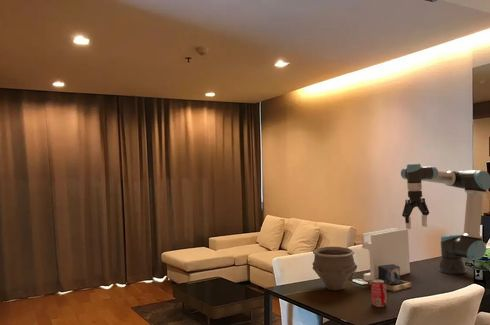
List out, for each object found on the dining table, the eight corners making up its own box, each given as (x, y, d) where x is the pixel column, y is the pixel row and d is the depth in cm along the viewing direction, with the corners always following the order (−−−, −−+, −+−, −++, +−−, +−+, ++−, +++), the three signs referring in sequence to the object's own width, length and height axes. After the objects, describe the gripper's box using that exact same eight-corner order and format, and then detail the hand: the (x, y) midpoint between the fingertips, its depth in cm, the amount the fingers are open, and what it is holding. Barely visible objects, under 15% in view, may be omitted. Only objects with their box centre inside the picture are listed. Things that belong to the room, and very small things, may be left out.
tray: (385, 280, 242) (385, 276, 242) (411, 287, 227) (410, 282, 227) (368, 284, 236) (368, 280, 236) (393, 291, 220) (393, 287, 220)
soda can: (383, 302, 203) (382, 278, 203) (389, 307, 196) (387, 282, 196) (369, 303, 202) (368, 279, 203) (374, 308, 195) (373, 283, 196)
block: (374, 282, 239) (372, 235, 239) (363, 280, 245) (361, 233, 246) (410, 272, 258) (407, 228, 259) (398, 270, 265) (396, 227, 266)
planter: (358, 283, 238) (356, 246, 239) (358, 296, 215) (356, 254, 215) (315, 282, 245) (314, 245, 245) (310, 293, 221) (309, 253, 222)
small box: (385, 287, 226) (384, 268, 227) (378, 284, 233) (377, 265, 233) (401, 284, 229) (400, 266, 230) (393, 282, 236) (393, 263, 236)
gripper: (405, 191, 222) (407, 230, 221) (434, 189, 234) (436, 226, 234) (394, 191, 229) (396, 229, 228) (423, 189, 241) (425, 224, 240)
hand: (416, 227), depth 231 cm, fingers open, 13 cm apart
